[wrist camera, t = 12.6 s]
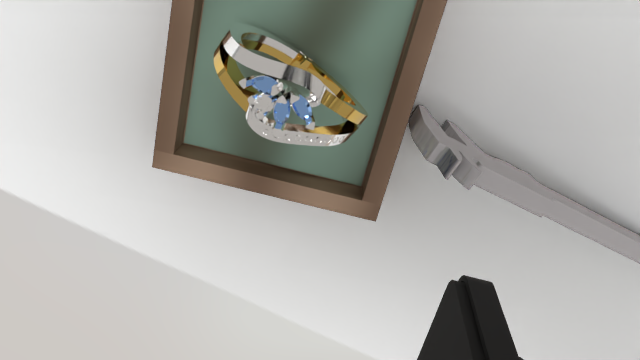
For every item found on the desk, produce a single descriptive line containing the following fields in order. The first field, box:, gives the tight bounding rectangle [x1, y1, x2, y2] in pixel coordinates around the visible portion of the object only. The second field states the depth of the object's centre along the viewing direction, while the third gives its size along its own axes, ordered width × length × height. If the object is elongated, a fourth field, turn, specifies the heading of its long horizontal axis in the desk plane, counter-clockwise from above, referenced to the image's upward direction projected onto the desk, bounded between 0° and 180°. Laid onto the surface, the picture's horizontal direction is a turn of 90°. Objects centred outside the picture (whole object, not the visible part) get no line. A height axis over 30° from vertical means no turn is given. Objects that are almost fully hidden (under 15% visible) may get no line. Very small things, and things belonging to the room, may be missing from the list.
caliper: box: [408, 105, 640, 263], centre depth 29 cm, size 21×1×6 cm, turn 61°
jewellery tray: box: [152, 0, 447, 221], centre depth 28 cm, size 12×14×2 cm
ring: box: [214, 23, 368, 146], centre depth 24 cm, size 7×3×8 cm, turn 53°
